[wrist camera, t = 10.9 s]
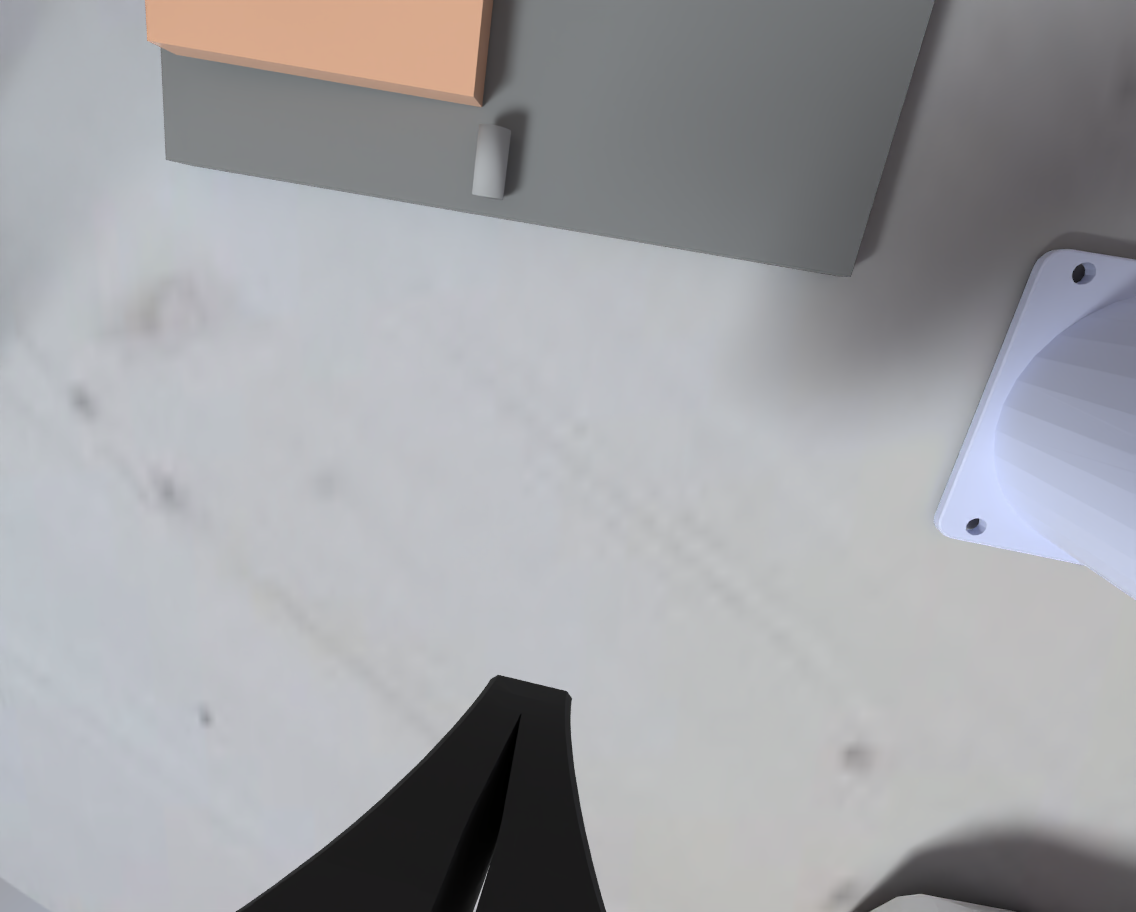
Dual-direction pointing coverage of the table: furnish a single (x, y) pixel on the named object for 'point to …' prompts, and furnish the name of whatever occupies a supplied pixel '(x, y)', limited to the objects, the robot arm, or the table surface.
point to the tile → (339, 40)
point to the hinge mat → (603, 124)
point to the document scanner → (932, 905)
